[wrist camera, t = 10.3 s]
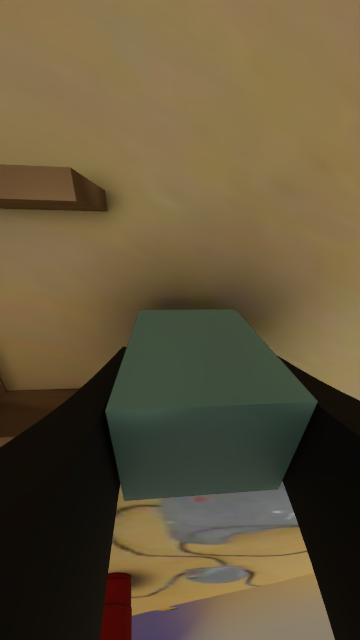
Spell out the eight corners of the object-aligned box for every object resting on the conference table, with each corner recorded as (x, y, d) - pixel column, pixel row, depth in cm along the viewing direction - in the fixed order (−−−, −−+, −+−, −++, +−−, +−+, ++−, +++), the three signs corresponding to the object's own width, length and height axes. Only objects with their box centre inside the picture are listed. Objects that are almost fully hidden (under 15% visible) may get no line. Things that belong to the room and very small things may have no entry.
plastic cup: (148, 566, 35) (140, 717, 24) (140, 585, 39) (130, 719, 28) (87, 567, 33) (48, 729, 22) (86, 587, 38) (53, 731, 27)
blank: (225, 369, 12) (277, 489, 6) (144, 371, 11) (124, 500, 6) (235, 309, 10) (317, 401, 5) (139, 310, 10) (105, 410, 4)
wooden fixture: (130, 395, 17) (116, 456, 12) (-2, 400, 16) (-69, 467, 11) (104, 190, 10) (54, 157, 6) (-120, 182, 9) (-381, 137, 5)
